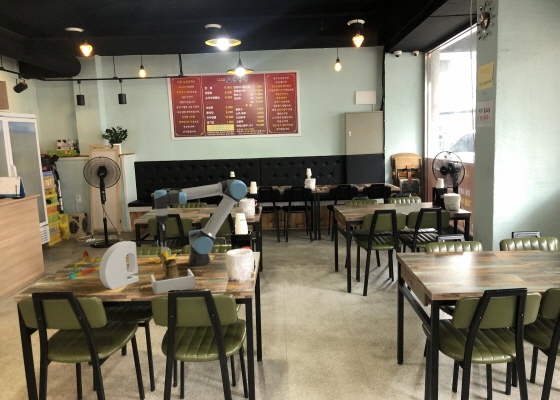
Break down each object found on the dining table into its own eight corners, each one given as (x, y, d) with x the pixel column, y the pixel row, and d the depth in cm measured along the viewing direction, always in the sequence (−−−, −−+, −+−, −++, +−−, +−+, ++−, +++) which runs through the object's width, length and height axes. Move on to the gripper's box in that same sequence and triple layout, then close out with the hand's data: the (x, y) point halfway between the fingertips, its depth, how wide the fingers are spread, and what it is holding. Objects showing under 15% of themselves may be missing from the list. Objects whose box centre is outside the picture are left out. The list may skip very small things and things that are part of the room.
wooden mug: (155, 280, 257) (153, 252, 255) (172, 274, 268) (170, 246, 266) (165, 283, 252) (163, 253, 250) (182, 276, 263) (180, 248, 261)
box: (190, 280, 256) (189, 269, 255) (195, 287, 242) (194, 276, 241) (151, 286, 247) (150, 274, 246) (154, 294, 233) (153, 282, 232)
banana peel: (176, 258, 308) (175, 235, 306) (169, 265, 289) (167, 241, 287) (154, 258, 308) (152, 236, 306) (145, 266, 290) (143, 242, 287)
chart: (108, 265, 295) (106, 244, 293) (111, 266, 294) (109, 245, 292) (68, 278, 269) (66, 255, 267) (71, 279, 268) (69, 256, 266)
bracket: (139, 281, 258) (135, 240, 255) (107, 291, 242) (103, 248, 239) (132, 279, 263) (129, 239, 259) (100, 288, 246) (96, 246, 243)
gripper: (154, 213, 270) (156, 250, 274) (156, 217, 258) (159, 254, 262) (166, 212, 273) (168, 248, 276) (169, 215, 261) (171, 253, 264)
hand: (164, 251), depth 269 cm, fingers closed
